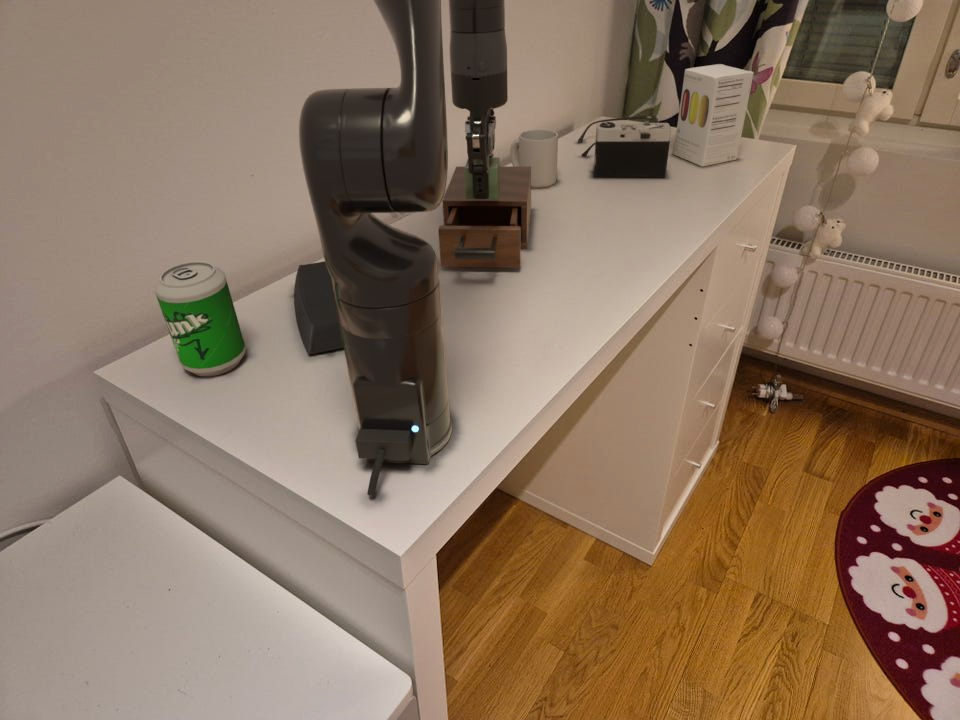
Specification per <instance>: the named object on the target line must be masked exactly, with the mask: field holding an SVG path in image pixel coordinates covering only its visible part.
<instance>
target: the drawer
mask: <svg viewBox="0 0 960 720" xmlns="http://www.w3.org/2000/svg"><path fill="white" fill-rule="evenodd" d="M437 230H438V232H437V233H438V245H439V256H440V257H439V259H440V266H441V267H464V268H465V267H466V268H473V267H474V268H521V265H522V263H521V261H522V260H521V258H522V257H521V255H522V254H521V253H522V252H521V251H522V249H521V227H520V206H453V207H452V210H451V213H450V215H449V218H448V221H447V226H444V225H439V226H438V229H437Z"/></svg>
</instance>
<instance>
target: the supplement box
mask: <svg viewBox="0 0 960 720" xmlns="http://www.w3.org/2000/svg"><path fill="white" fill-rule="evenodd" d="M754 74H755V72H754V71H751V70H745V69H741V68H738V67H735V66H734V67H733V66H729V65H725V64H722V63H717V64H716V63H715V64H711V65H704V66H703V65H702V66H696V67H690V68H685V69H684V75H683V82H682V88H681V96H680V105H679V110H678V111H679V112H678V116H677V117H678V119H677V125H676V130H675V132H676V133H675V139H674V148H673V154H672V155H674V156H676V157H679V158H680V159H683V160H686V161H688V162H690V163H692V164H695V165H697V166H699V167H707V166H708V167H709V166H711V165H712V166H713V165H717V164H723V163H727V162H732V161H736V160H737V159H738V157H739V151H740V145H741V140H742V135H743V129H744V126H745V119H746V115H747V110H748V105H749V99H750V94H751V88H752V84H753V79H754Z"/></svg>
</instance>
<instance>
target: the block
mask: <svg viewBox="0 0 960 720" xmlns="http://www.w3.org/2000/svg"><path fill="white" fill-rule="evenodd" d="M475 164H483V161H482V160H481V159H475ZM464 167H465V186H466V199H475V198H474V197H473V176H472V174H470V173H469V171H468V167H469V163H468V159H467V161H466V163H465V166H464ZM489 167H490V171H489V174H488V175H489V197H488V198H487V199H498V195H499V191H500V167H501V158H500V157H499V156H497V157H496V156H495V157H494V156H493V157H489Z"/></svg>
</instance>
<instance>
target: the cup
mask: <svg viewBox="0 0 960 720" xmlns="http://www.w3.org/2000/svg"><path fill="white" fill-rule="evenodd" d="M558 141H559V134H558V132H556V131H554V130H550V129H530V130H529V129H528V130H526V131H522V132H520V133H519V134H518V137H515V138H514V139H513V141H512V143H511V145H510V149H509V153H510V154H509V158H510V162H511V165H512V167H515V166H531V189H543V188H544V189H545V188H548V187H551V186H554V185H555V183H556V182H557V180H558V179H557V178H558V152H559V151H558V149H559V148H558V145H559V142H558Z"/></svg>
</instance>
